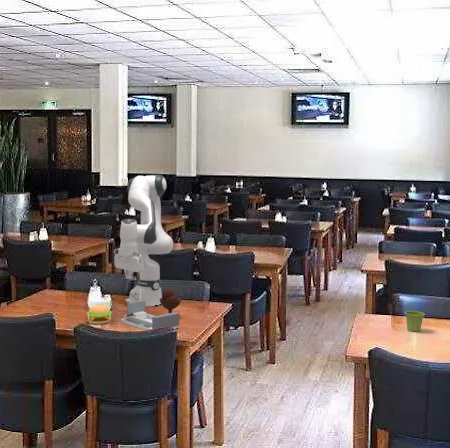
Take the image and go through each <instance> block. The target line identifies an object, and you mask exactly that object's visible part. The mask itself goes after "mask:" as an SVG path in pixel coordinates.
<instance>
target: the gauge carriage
mask: <svg viewBox="0 0 450 448" xmlns="http://www.w3.org/2000/svg"><path fill="white" fill-rule="evenodd" d="M126 303H127V304H126V305H127V308H126V310H127V313H126V314H127V316H134V317H138V318H141V319H145V318H147V314H148V312H147V306H146V301H145V300H141V301H136V302H130V303H128V302H126Z"/></svg>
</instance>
